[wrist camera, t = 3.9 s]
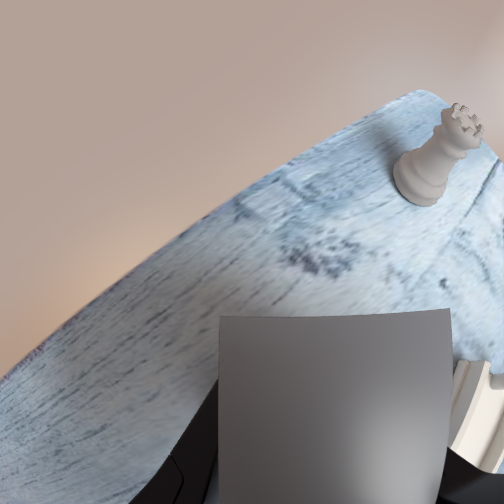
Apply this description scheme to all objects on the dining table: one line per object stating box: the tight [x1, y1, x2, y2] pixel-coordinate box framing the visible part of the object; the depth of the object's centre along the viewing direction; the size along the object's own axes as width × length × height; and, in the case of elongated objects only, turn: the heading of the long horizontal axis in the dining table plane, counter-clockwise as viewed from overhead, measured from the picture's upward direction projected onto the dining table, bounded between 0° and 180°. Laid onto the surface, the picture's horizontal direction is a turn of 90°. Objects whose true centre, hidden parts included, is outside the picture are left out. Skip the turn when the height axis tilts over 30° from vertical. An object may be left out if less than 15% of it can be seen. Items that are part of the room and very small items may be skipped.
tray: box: [447, 360, 504, 474], centre depth 11 cm, size 10×8×4 cm
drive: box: [218, 308, 453, 504], centre depth 9 cm, size 6×4×12 cm, turn 179°
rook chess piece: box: [393, 103, 484, 207], centre depth 16 cm, size 4×4×8 cm
